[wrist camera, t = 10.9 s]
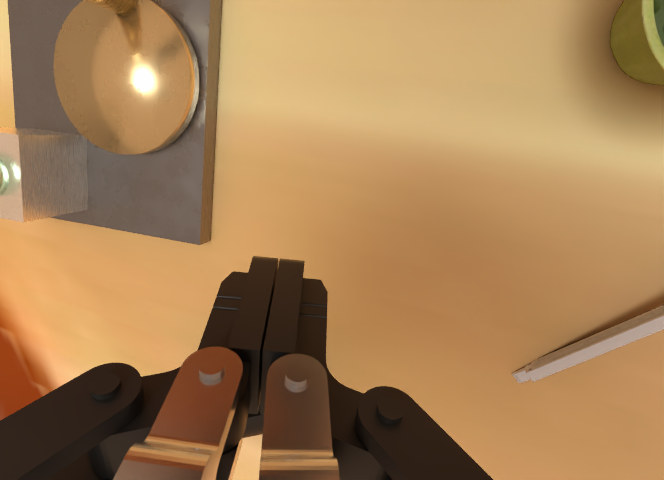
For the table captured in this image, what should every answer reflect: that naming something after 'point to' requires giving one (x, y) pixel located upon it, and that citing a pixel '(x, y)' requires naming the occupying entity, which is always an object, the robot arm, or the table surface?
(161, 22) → the brass dish with post
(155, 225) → the base
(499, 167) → the table surface
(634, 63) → the plant pot
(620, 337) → the caliper
